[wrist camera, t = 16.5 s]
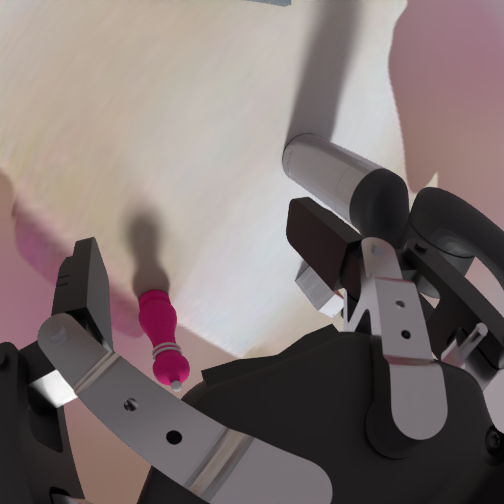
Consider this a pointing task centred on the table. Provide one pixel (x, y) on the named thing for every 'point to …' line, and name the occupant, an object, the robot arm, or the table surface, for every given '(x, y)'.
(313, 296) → the small box
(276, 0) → the hole board
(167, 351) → the pepper mill
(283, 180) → the table surface
